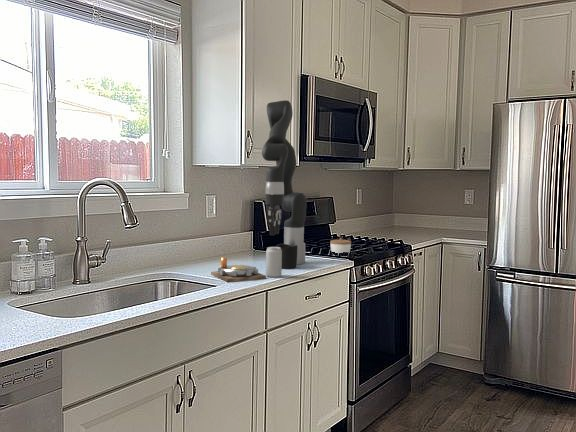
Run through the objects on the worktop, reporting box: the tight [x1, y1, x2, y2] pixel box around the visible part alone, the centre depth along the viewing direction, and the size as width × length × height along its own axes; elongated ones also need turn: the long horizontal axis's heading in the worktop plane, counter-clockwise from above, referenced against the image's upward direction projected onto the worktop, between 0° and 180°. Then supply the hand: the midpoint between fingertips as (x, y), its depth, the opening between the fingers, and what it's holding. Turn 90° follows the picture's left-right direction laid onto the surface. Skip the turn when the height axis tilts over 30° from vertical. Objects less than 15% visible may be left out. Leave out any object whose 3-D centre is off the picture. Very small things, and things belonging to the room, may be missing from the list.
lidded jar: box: [329, 237, 352, 253], centre depth 284 cm, size 11×11×9 cm
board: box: [210, 270, 267, 283], centre depth 225 cm, size 17×17×1 cm
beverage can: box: [265, 246, 283, 279], centre depth 226 cm, size 6×6×12 cm
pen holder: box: [276, 243, 298, 270], centre depth 248 cm, size 9×9×10 cm
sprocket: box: [217, 257, 259, 276], centre depth 225 cm, size 16×16×6 cm
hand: (274, 234), depth 226 cm, fingers open, 4 cm apart
